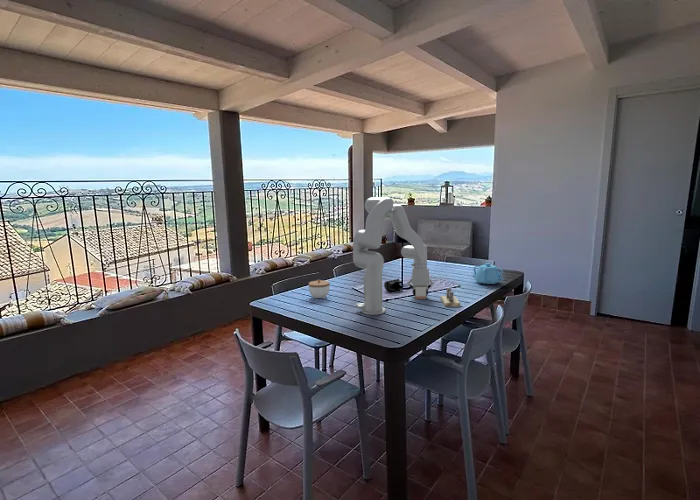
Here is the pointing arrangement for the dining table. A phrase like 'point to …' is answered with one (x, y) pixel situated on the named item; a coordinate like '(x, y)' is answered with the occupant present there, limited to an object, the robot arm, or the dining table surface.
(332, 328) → the dining table surface
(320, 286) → the lidded bowl
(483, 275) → the decorative pot
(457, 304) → the pin board
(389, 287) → the end cap
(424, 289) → the sleeve
